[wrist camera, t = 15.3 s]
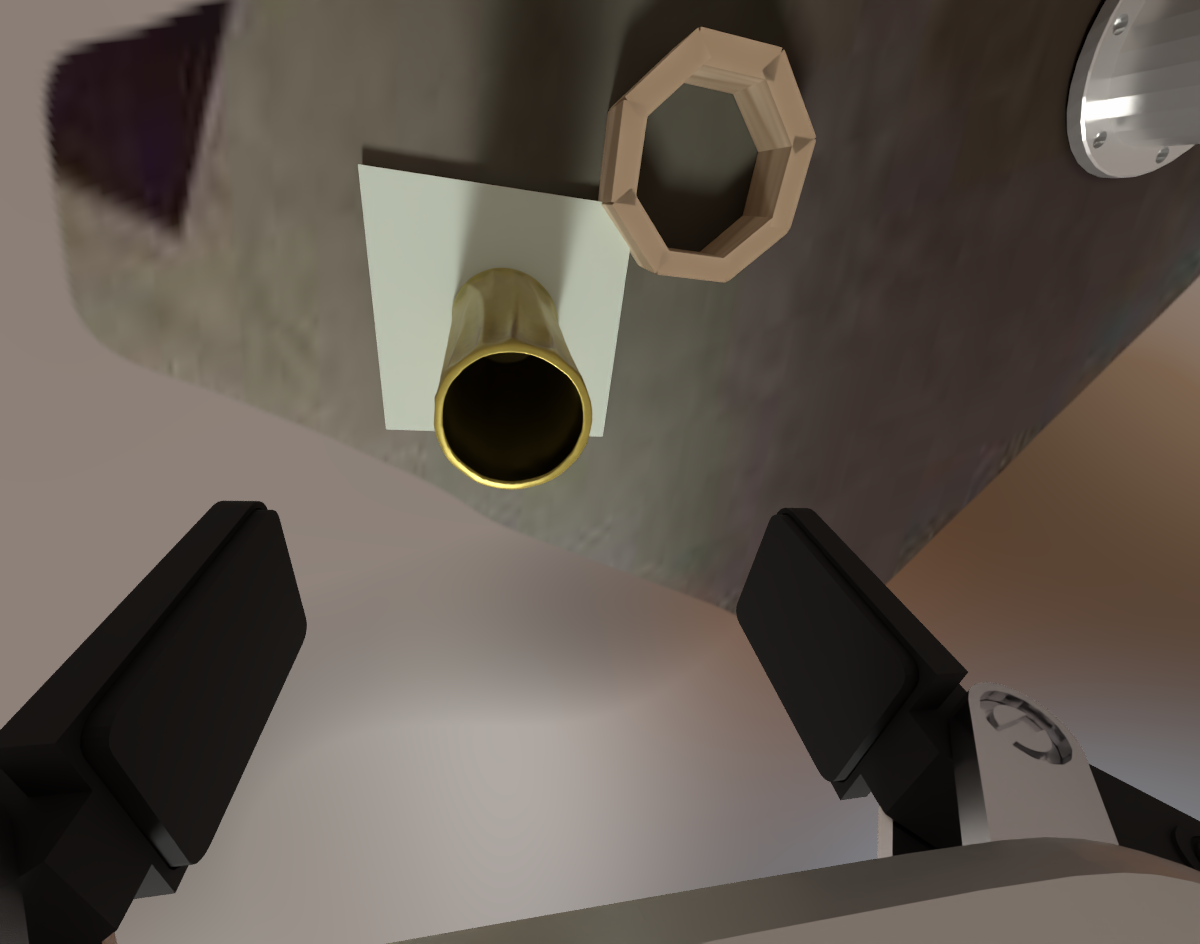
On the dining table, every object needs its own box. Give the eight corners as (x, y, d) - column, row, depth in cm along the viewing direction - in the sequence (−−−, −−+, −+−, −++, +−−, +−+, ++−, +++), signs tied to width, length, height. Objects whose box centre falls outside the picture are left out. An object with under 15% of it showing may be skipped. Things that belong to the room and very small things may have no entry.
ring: (797, 78, 25) (838, 62, 22) (744, 279, 29) (772, 288, 26) (615, 34, 22) (634, 9, 19) (591, 260, 27) (603, 267, 24)
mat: (632, 206, 26) (635, 207, 25) (600, 431, 33) (602, 436, 32) (362, 165, 23) (357, 164, 22) (388, 423, 30) (386, 429, 29)
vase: (468, 382, 28) (449, 517, 16) (437, 277, 25) (385, 348, 13) (565, 363, 29) (615, 480, 17) (546, 258, 26) (593, 311, 14)
